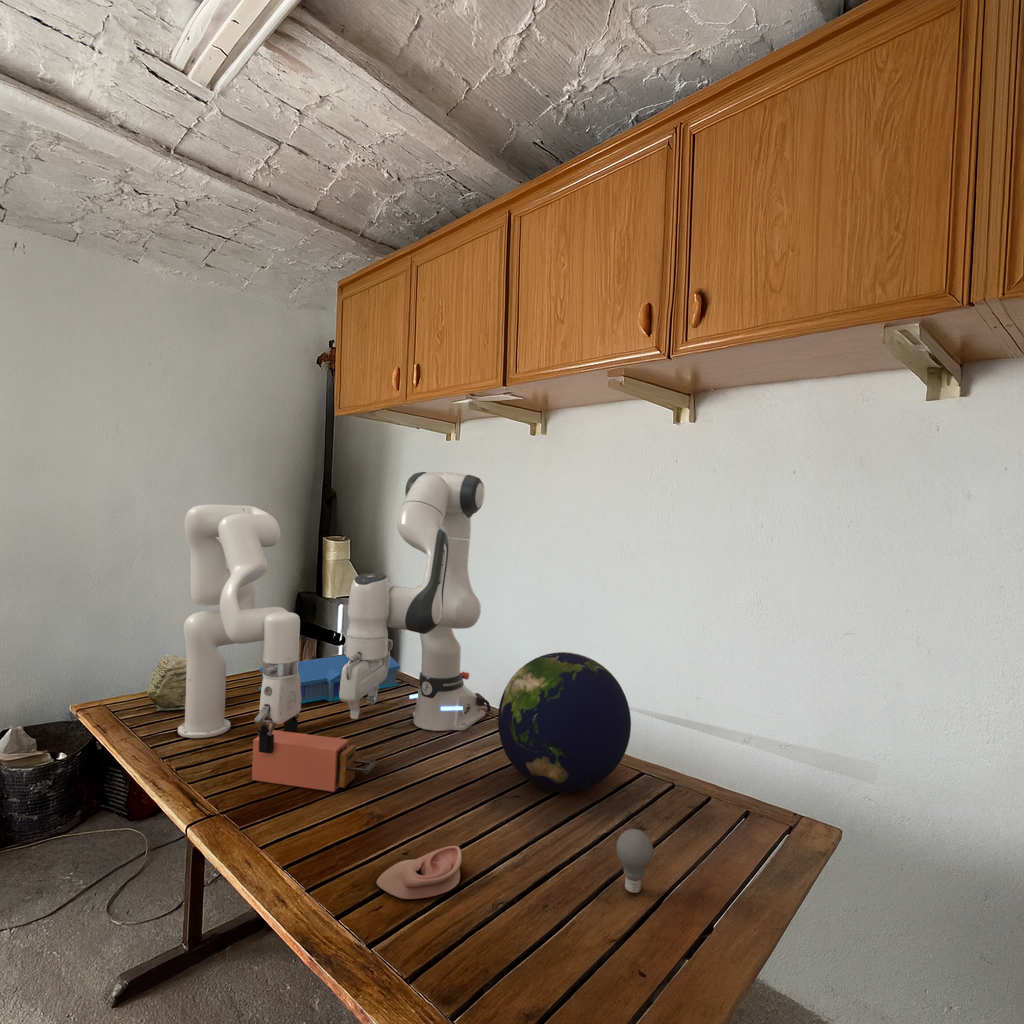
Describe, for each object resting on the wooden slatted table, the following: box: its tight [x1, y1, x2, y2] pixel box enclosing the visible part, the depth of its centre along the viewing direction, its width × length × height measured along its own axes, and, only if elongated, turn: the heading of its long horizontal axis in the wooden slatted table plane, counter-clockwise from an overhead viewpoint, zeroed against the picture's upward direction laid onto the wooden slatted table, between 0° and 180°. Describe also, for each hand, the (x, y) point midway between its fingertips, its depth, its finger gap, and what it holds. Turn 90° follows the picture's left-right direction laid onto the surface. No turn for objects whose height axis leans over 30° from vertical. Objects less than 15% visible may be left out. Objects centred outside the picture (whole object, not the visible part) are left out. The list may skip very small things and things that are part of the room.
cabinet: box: [251, 729, 350, 793], centre depth 141 cm, size 20×6×9 cm, turn 79°
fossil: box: [147, 654, 187, 712], centre depth 185 cm, size 9×18×15 cm, turn 132°
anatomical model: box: [376, 845, 463, 900], centre depth 106 cm, size 13×4×12 cm
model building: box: [258, 654, 401, 705], centre depth 208 cm, size 39×24×10 cm, turn 132°
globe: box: [497, 651, 632, 793], centre depth 143 cm, size 30×30×30 cm
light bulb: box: [615, 828, 654, 894], centre depth 106 cm, size 6×6×10 cm
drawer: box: [336, 744, 378, 789], centre depth 140 cm, size 24×5×7 cm, turn 79°
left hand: (278, 744), depth 142 cm, fingers open, 9 cm apart
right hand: (363, 710), depth 139 cm, fingers open, 8 cm apart
